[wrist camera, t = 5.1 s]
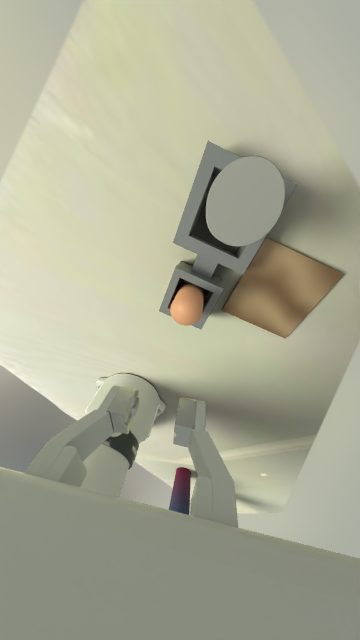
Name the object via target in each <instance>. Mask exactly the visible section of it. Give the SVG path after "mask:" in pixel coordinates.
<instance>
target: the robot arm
mask: <svg viewBox="0 0 360 640" xmlns="http://www.w3.org/2000/svg"><path fill="white" fill-rule="evenodd" d="M96 390H97V393H96V394H95V396H94V397H93V399H92V400H91V402H90V404H89V405H88V407H87V408H86V410H85V413H86V414H85V416H84V417H83V418H81V419H80V420H78V421H77V422H75V423H74V424H72V425H71V426H69V427H68V428H66V429H65V430H63V431H62V432H60V433H59V434H57V435H56V436H54V437H53V438H51V439H50V440H49V441H48V442H47V443H46V444H45V446H44V447H43V448H42V450H41V451H40V452H39V454H38V455H37V456H36V457H35V459H34V460H33V462H32V463H31V464H30V465H29V467H28V468H27V469H26V470H25V472H24V473H22V472H18V471H14V470H10V469H6V468H2V467H0V640H360V559H359V558H355V557H351V556H347V555H343V554H339V553H335V552H331V551H327V550H324V549H319V548H316V547H312V546H308V545H304V544H300V543H296V542H292V541H288V540H284V539H280V538H276V537H273V536H269V535H264V534H260V533H257V532H253V531H249V530H245V529H241V528H238V520H237V509H236V498H235V487H234V481H233V479H232V477H231V476H230V474H229V472H228V470H227V468H226V466H225V464H224V462H223V460H222V458H221V456H220V454H219V452H218V450H217V448H216V447H215V445H214V443H213V441H212V439H211V437H210V435H209V433H208V432H207V431H205V418H206V402H205V401H200V400H196V399H190V398H183V397H180V399H179V405H178V411H177V415H176V421H175V429H174V432H175V433H174V443H173V444H176V445H180V446H184V447H189V448H188V449H189V452H190V454H191V457H192V460H193V463H194V466H195V469H196V472H197V475H198V478H197V479H196V483H195V487H194V491H193V495H192V499H191V512H190V515H186V514H183V513H179V512H175V511H171V510H166V509H163V508H159V507H155V506H151V505H147V504H143V503H139V502H135V501H132V500H128V499H123V498H120V497H119V496H120V493H121V489H122V486H123V484H124V481H125V478H126V475H127V471H128V470H129V469H130V468H131V467H132V464H133V461H134V460H135V457H136V454H137V450H138V447H139V443H140V442H142V441H144V440H145V439H146V438H148V437H149V435H150V432H151V429H152V426H153V423H154V420H155V419H156V418H157V417H158V416H159V415H160V414H161V413H162V412H163V411H164V410H165V408H166V405H165V404H164V403H163V402H162V401H161V400H160V398H159V396H158V393H157V391H156V390H155V388H154V387H153V386H152V385H151V384H150V383H148V382H147V381H145V380H144V379H142V378H140V377H137V376H135V375H131V374H116V375H113V376H111V377H108V378H99V379H98V380H97V381H96Z"/></svg>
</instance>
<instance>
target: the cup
mask: <svg viewBox="0 0 360 640" xmlns="http://www.w3.org/2000/svg"><path fill="white" fill-rule="evenodd" d="M190 477H191V472H190V470H188V469H186V468H181V467H180V468H177V470H176V476H175V481H174V486H173V491H172V496H171V501H170V506H169V510H171V511H175V512H179V513H183V514H186V515H189V505H190V503H189V502H190Z"/></svg>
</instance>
